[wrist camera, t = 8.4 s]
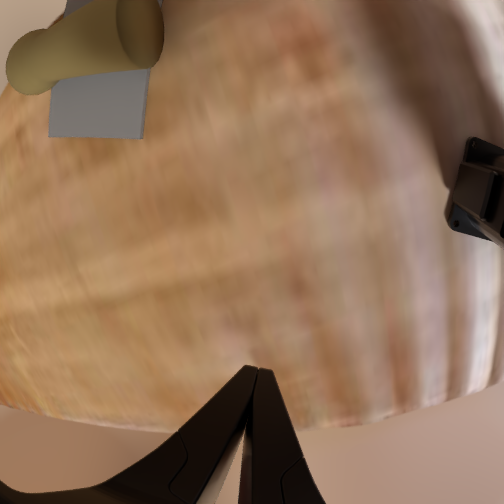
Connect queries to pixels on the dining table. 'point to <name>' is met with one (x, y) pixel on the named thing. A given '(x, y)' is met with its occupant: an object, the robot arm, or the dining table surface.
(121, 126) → the mat
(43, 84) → the cork
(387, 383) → the dining table surface
